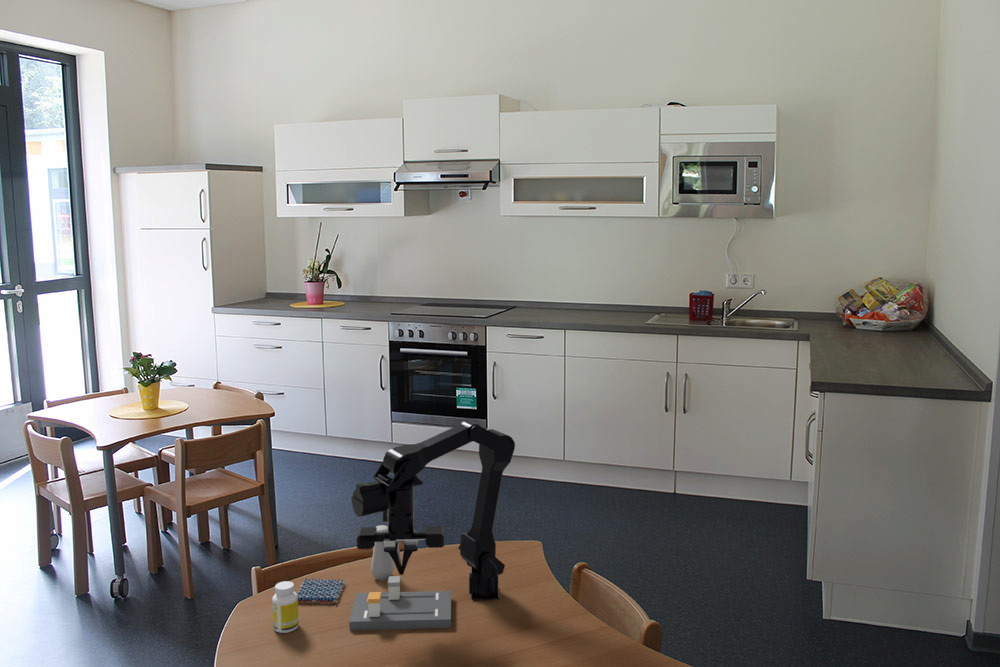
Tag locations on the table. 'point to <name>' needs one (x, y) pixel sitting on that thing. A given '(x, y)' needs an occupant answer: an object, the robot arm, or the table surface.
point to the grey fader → (394, 587)
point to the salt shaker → (381, 559)
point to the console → (404, 611)
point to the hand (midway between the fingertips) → (401, 573)
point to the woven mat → (320, 591)
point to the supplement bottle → (285, 608)
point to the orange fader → (374, 604)
